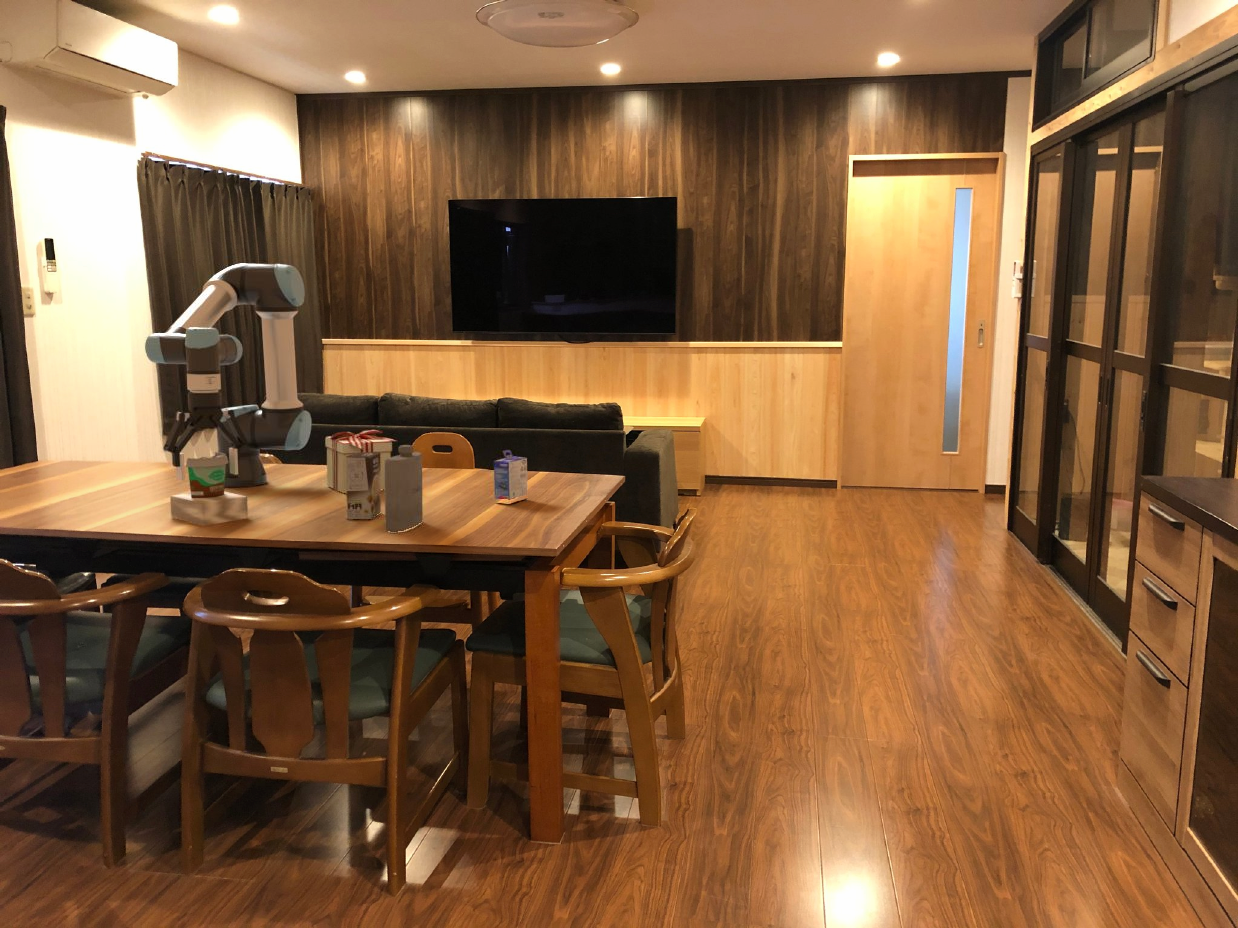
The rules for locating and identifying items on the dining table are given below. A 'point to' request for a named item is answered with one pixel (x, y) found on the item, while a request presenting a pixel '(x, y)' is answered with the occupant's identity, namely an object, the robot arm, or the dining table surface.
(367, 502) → the coffee box
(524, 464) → the ink cartridge box
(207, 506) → the birch block
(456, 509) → the dining table surface
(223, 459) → the food container
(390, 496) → the flask
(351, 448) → the gift box
